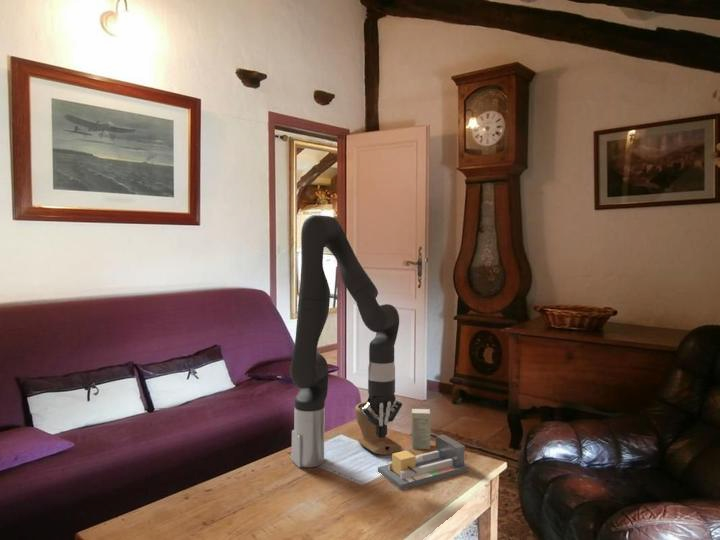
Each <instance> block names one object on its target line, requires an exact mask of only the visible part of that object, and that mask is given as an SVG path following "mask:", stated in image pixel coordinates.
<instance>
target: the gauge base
mask: <svg viewBox="0 0 720 540" xmlns="http://www.w3.org/2000/svg"><path fill="white" fill-rule="evenodd" d="M415 456H416V457H418V456H423V459H424V460H423V461H422V462H418V463H415V468H412V469H414V470H415V471H416V472H417V473H414V472H413V471H411V470H410V469H408V470H404V471H400V475H398V474H397V473H396V472H394V471H393V470H392V461H389V462H387V464H386V465H382V466H378V467H377V473H378V472H379V473H381V474H382V475H383V476H384V477H383V476H382V475H381V474H380V475H381V476H382V477H383V478H384V479H386V480H387V479H388V480H389V481H388V480H387V481H388V482H389V483H391V482H392V483H393V484H394V485H393V484H392V483H391V484H392V485H393V486H394V487H396V486H397V487H398V488H399V489H398V488H397V487H396V488H397V489H398V490H399V491H404V490H405V489H406V488H407V489H410V488H413V487H417V486H420V485H424V484H428V483H431V482H434V481H439V480H442V479H445V478H449V477H452V476H457V475H460V474H464V473H466V472H468V470H469V467H468V465H466V464H464V466H461V467H457V468H456V467H454V466H453V465H452V459H446V460H443V459H442V458H440V457H439V451H436V450H433V451H430V452H425V453H421V454H417V455H415ZM379 473H378V474H379Z"/></svg>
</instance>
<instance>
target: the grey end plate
mask: <svg viewBox="0 0 720 540" xmlns="http://www.w3.org/2000/svg"><path fill="white" fill-rule="evenodd" d="M465 448H466V446H465V444H462V443H460V442H458V441H456V440H455V439H453V438H452V437H449V436H447V435H446V434H439V435H436V437H435V451H439V457H440V458H442V459H443V460H446V459H452V465H453V466H454V467H456V468H457V467H461V466H464V465H465V456H466V455H465V453H466V451H465V450H466V449H465Z"/></svg>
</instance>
